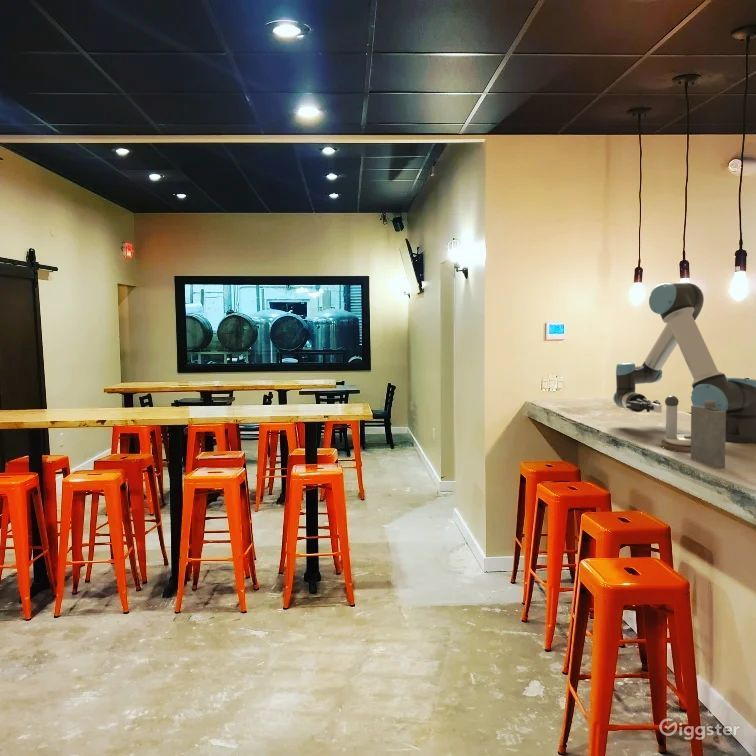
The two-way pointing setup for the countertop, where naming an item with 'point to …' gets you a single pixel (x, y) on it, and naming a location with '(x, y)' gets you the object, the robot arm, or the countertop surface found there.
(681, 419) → the countertop surface
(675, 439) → the light grey l-shaped piece
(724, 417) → the hip flask
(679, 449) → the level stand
